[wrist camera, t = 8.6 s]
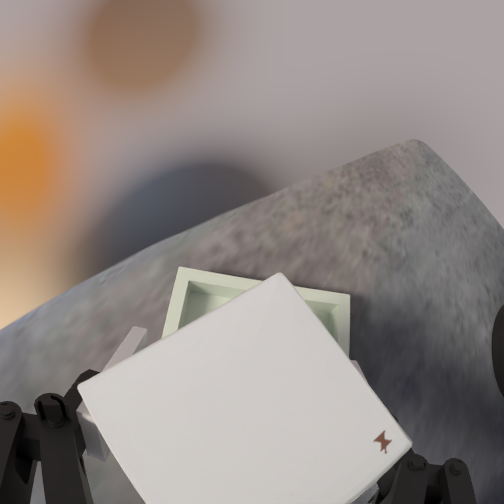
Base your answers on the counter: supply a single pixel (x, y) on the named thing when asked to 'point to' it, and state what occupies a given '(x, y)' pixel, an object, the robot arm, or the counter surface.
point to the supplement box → (246, 409)
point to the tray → (227, 287)
